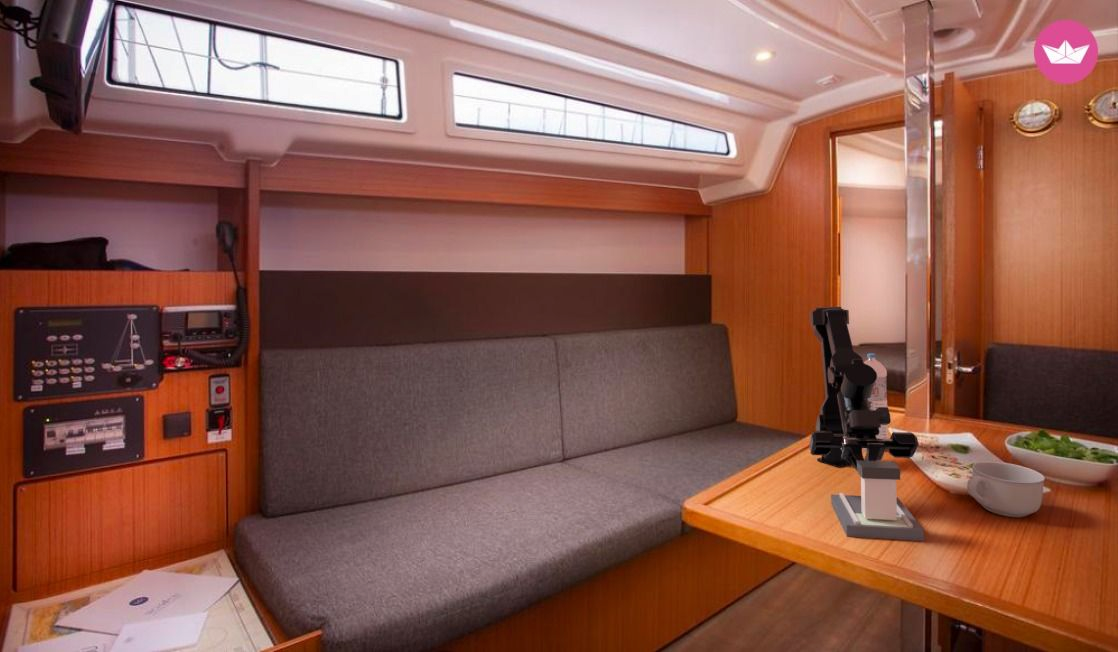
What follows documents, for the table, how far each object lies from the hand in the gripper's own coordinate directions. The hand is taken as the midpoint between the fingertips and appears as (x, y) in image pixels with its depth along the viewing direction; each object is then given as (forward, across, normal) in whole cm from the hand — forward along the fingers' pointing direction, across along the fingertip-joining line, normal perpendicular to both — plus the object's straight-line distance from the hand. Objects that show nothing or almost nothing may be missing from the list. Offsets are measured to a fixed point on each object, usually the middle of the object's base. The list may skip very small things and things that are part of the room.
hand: (869, 484), depth 109 cm
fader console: (+6, 0, +2) cm, 7 cm away
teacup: (+1, +23, +8) cm, 24 cm away
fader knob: (+7, 0, -2) cm, 7 cm away
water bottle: (-27, +11, +37) cm, 48 cm away
